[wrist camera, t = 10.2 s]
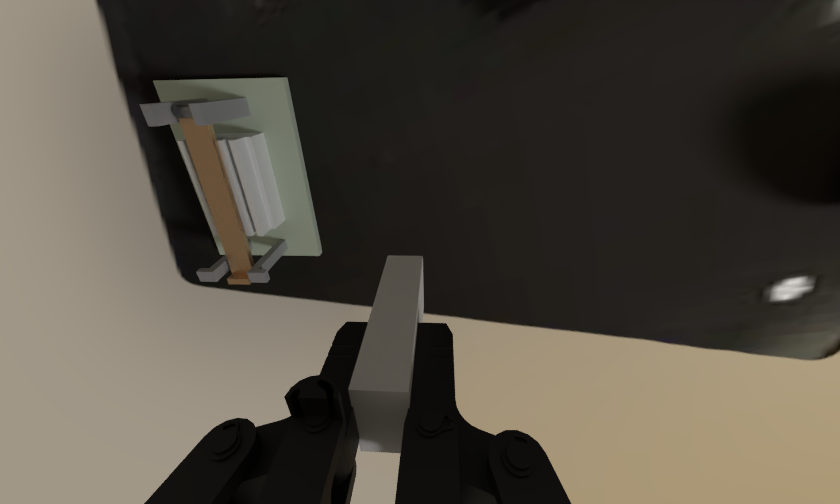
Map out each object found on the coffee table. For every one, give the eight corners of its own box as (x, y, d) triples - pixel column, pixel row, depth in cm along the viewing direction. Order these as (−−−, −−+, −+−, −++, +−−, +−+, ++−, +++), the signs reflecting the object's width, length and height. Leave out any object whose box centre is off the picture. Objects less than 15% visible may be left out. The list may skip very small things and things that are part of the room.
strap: (180, 104, 34) (163, 105, 32) (208, 104, 33) (193, 105, 31) (238, 274, 44) (228, 284, 42) (260, 275, 43) (251, 284, 41)
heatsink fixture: (160, 80, 38) (76, 82, 30) (287, 77, 37) (239, 78, 29) (224, 250, 50) (178, 288, 41) (322, 252, 49) (296, 291, 40)
